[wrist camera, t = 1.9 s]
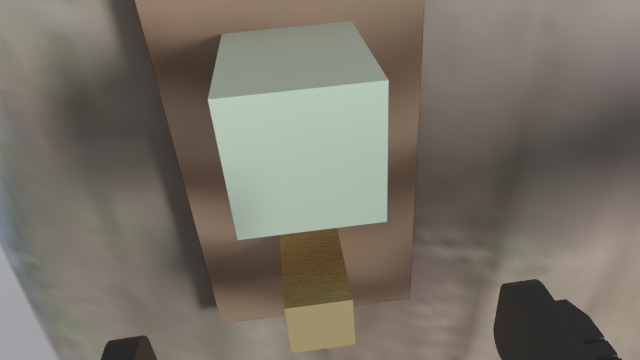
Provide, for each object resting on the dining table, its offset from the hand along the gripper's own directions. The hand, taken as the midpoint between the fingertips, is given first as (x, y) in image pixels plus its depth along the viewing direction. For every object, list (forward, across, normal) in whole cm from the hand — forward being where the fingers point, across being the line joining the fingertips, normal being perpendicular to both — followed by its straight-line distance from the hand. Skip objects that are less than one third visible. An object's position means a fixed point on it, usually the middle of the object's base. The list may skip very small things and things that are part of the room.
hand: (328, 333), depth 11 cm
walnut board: (+15, 0, +4) cm, 16 cm away
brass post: (+14, 0, +10) cm, 17 cm away
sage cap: (+14, 0, 0) cm, 14 cm away
